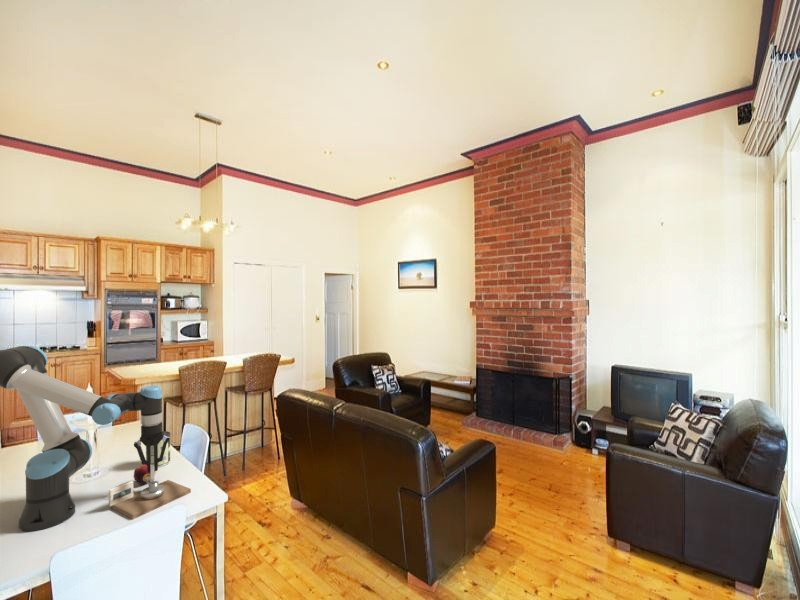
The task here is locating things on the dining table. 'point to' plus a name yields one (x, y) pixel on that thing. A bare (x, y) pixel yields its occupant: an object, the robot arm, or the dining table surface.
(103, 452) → the dining table surface
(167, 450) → the coffee can
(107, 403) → the robot arm
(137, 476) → the fruit
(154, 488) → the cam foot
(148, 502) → the stand
